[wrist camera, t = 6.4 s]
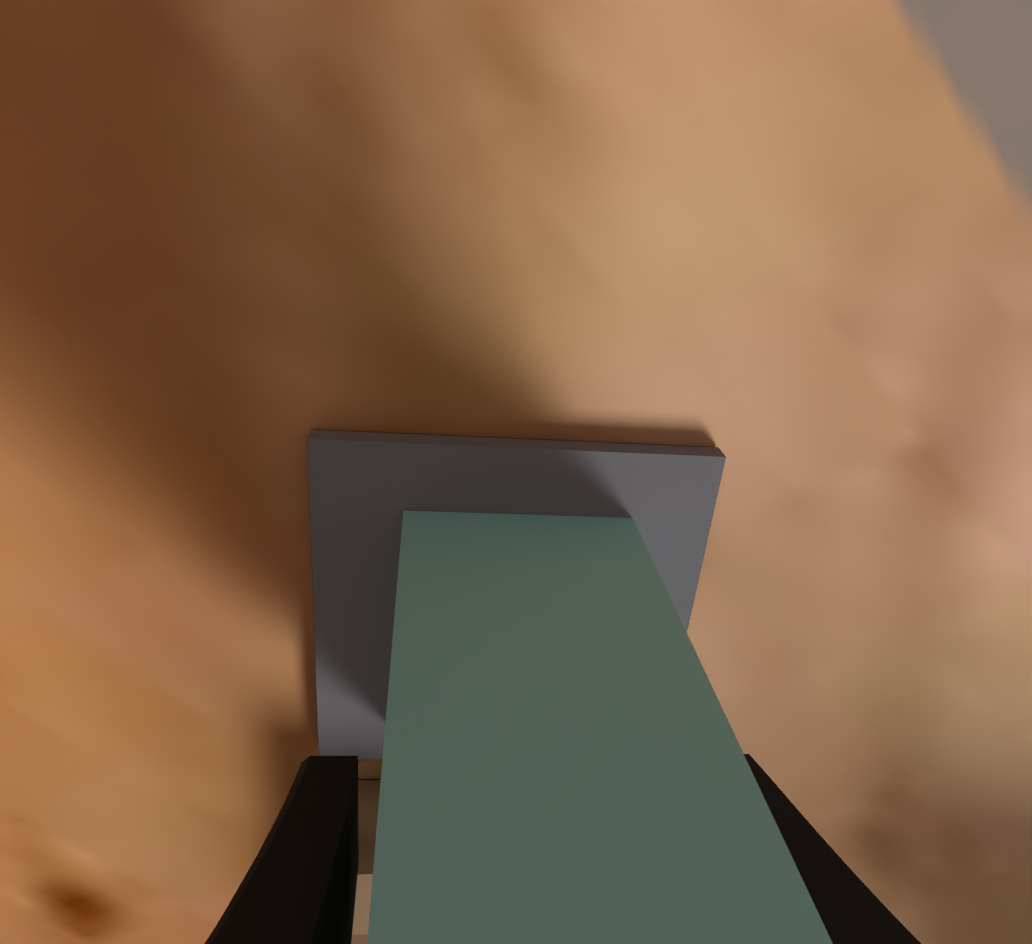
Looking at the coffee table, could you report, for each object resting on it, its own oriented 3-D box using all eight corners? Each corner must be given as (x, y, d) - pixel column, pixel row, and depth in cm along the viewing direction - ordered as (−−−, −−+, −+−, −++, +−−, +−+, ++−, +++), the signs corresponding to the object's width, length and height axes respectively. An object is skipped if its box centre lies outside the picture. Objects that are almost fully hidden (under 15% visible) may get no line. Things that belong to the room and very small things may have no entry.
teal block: (396, 732, 15) (360, 1304, 8) (403, 510, 13) (361, 1018, 6) (594, 731, 16) (730, 1270, 8) (632, 517, 13) (856, 996, 6)
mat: (322, 745, 16) (319, 759, 15) (311, 429, 13) (307, 439, 12) (654, 744, 16) (658, 758, 16) (718, 447, 13) (725, 456, 13)
